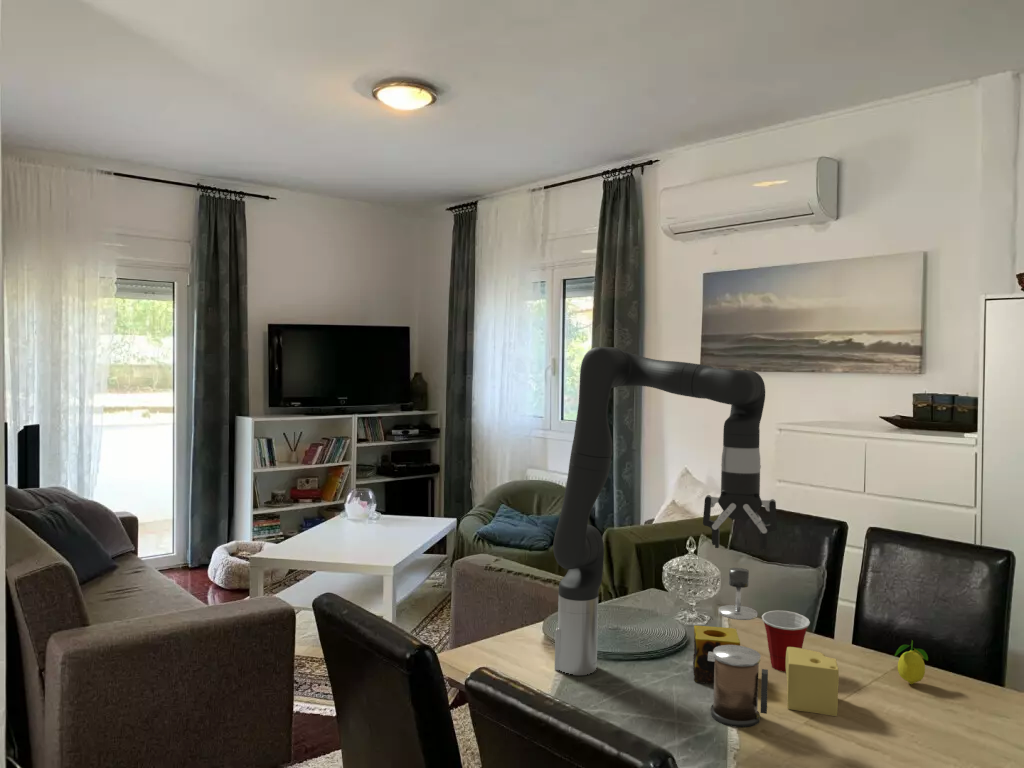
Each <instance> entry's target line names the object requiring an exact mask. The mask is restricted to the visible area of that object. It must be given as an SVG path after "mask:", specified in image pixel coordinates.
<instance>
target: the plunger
mask: <svg viewBox="0 0 1024 768" xmlns="http://www.w3.org/2000/svg"><path fill="white" fill-rule="evenodd" d="M728 571H729V572H728V585H729V586H730V587H733V588H735V604H728V605H721V606H719V607H718V612H717V613H718V614H719V615H720V616H722V617H724V618H727V619H732V620H738V621H739V620H740V621H750V620H755V619H757V618H758V611H757V610H755V609H754V608H752V607H748V606H743V605H741V603H742V602H741V601H742V588H749V582H750V581H749V580H750V579H749V578H750V575H749V574H750V572H749V569H746V568H742V567H731V568H729V570H728Z"/></svg>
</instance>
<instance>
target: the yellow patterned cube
mask: <svg viewBox="0 0 1024 768" xmlns="http://www.w3.org/2000/svg"><path fill="white" fill-rule="evenodd" d="M693 638H694V639H693V643H694V644H693V655H692V656H693V657H692V659H693V660H692V661H693V662H692V664H693V665H692V666H693V667H692V669H693V676H694V677H693V681H694V682H696V683H700V684H707V685H708V684H711V685H714V664H715V662H713V661H708V652H713V650H714V648H715V647H717V646H721V645H739V646H741V641H740V638H739V635H738V631H737V629H736V628H733V627H731V628H730V627H723V626H722V627H719V626H707V625H705V626H704V625H697V624H696V625H694V626H693Z"/></svg>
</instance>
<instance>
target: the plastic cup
mask: <svg viewBox="0 0 1024 768" xmlns="http://www.w3.org/2000/svg"><path fill="white" fill-rule="evenodd" d="M761 619H762V622H763V623H764V627H765V632H766V638H767V639H766V640H767V647H768V648H767V649H768V653H769V660H770V664H771V667H772V669H774V670H777V671H780V672H784V673H786V651H787V647H796V648H802V649H803V645H804V641H805V636H806V633H807V629H808V627H809V626H810V624H811V621H810V620H809V618H808V617H806V616H805V615H802V614H799V613H798V612H794V611H788V610H770V611H767V612H764V613H763V614H762V615H761Z"/></svg>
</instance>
